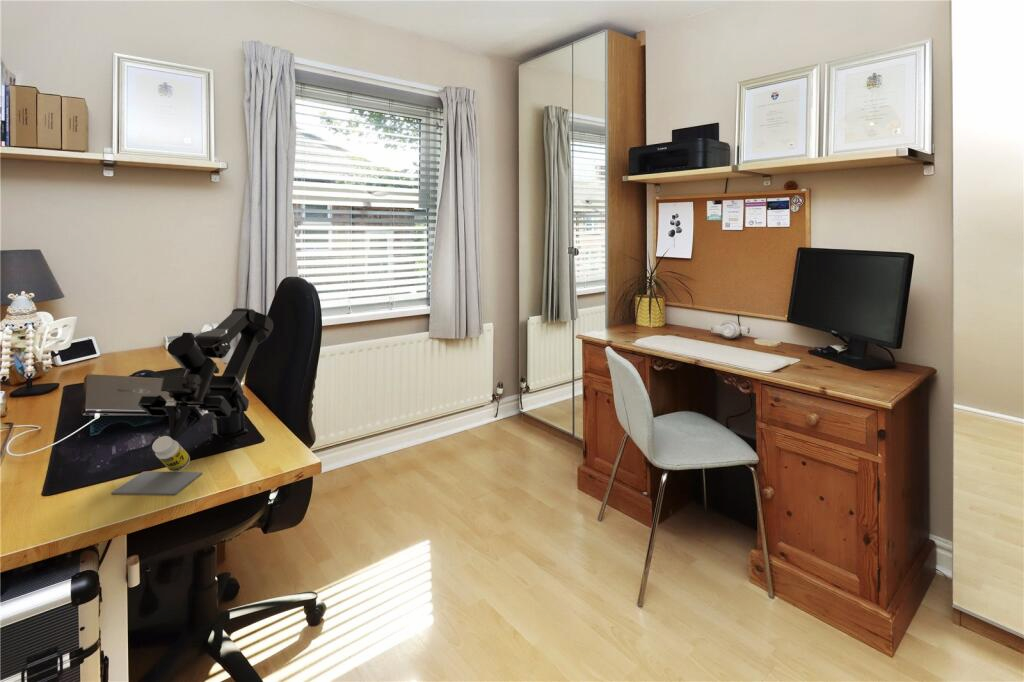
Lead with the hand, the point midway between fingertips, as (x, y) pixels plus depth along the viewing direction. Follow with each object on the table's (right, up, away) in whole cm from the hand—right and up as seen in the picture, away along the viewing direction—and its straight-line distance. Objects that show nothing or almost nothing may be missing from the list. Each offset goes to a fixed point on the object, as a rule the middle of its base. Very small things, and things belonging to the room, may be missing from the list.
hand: (172, 439), depth 121 cm
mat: (0, -8, -4) cm, 10 cm away
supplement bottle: (0, -6, +3) cm, 6 cm away
